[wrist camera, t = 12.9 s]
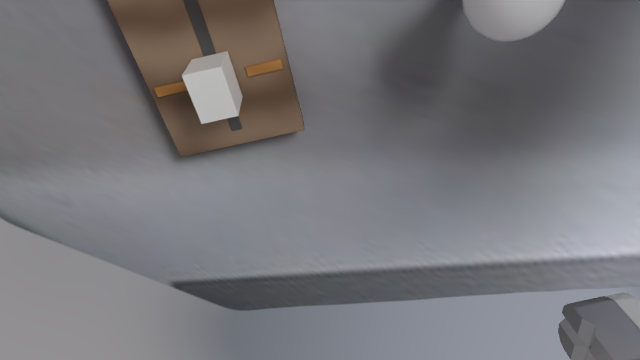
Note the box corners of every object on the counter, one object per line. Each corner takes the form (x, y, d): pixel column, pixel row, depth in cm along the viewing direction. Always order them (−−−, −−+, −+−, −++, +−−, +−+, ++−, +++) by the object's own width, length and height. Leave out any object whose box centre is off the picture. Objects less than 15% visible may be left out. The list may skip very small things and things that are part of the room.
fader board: (32, -190, 25) (12, -198, 23) (214, -238, 24) (209, -250, 23) (185, 146, 39) (180, 158, 37) (303, 120, 38) (304, 130, 37)
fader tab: (191, 59, 32) (181, 75, 29) (227, 51, 32) (221, 66, 29) (209, 104, 34) (201, 124, 31) (242, 96, 34) (238, 115, 31)
